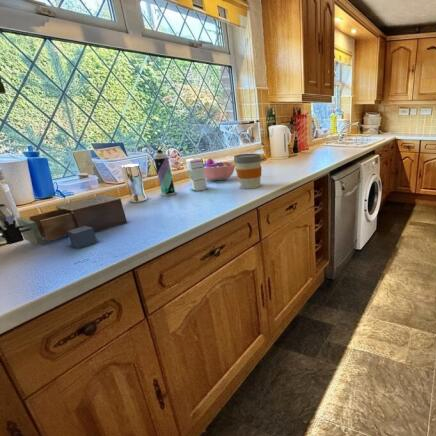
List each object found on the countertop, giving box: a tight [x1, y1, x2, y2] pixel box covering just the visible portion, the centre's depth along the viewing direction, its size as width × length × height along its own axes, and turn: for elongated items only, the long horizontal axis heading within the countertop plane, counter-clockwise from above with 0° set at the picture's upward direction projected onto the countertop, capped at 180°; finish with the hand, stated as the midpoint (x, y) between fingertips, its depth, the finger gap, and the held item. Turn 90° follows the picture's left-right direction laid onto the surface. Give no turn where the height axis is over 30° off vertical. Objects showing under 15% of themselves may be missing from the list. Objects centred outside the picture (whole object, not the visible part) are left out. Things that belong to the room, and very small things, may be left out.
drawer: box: [0, 209, 77, 247], centre depth 88 cm, size 18×10×7 cm, turn 151°
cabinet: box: [55, 194, 128, 234], centre depth 99 cm, size 14×12×9 cm
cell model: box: [203, 158, 236, 181], centre depth 161 cm, size 17×20×11 cm
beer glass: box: [120, 163, 148, 203], centre depth 127 cm, size 7×7×15 cm
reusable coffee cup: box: [233, 153, 262, 190], centre depth 144 cm, size 13×13×15 cm
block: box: [67, 226, 98, 249], centre depth 86 cm, size 4×4×4 cm
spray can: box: [153, 149, 176, 197], centre depth 135 cm, size 6×6×20 cm
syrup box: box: [185, 157, 208, 192], centre depth 142 cm, size 6×6×14 cm
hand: (9, 239), depth 83 cm, fingers open, 9 cm apart
